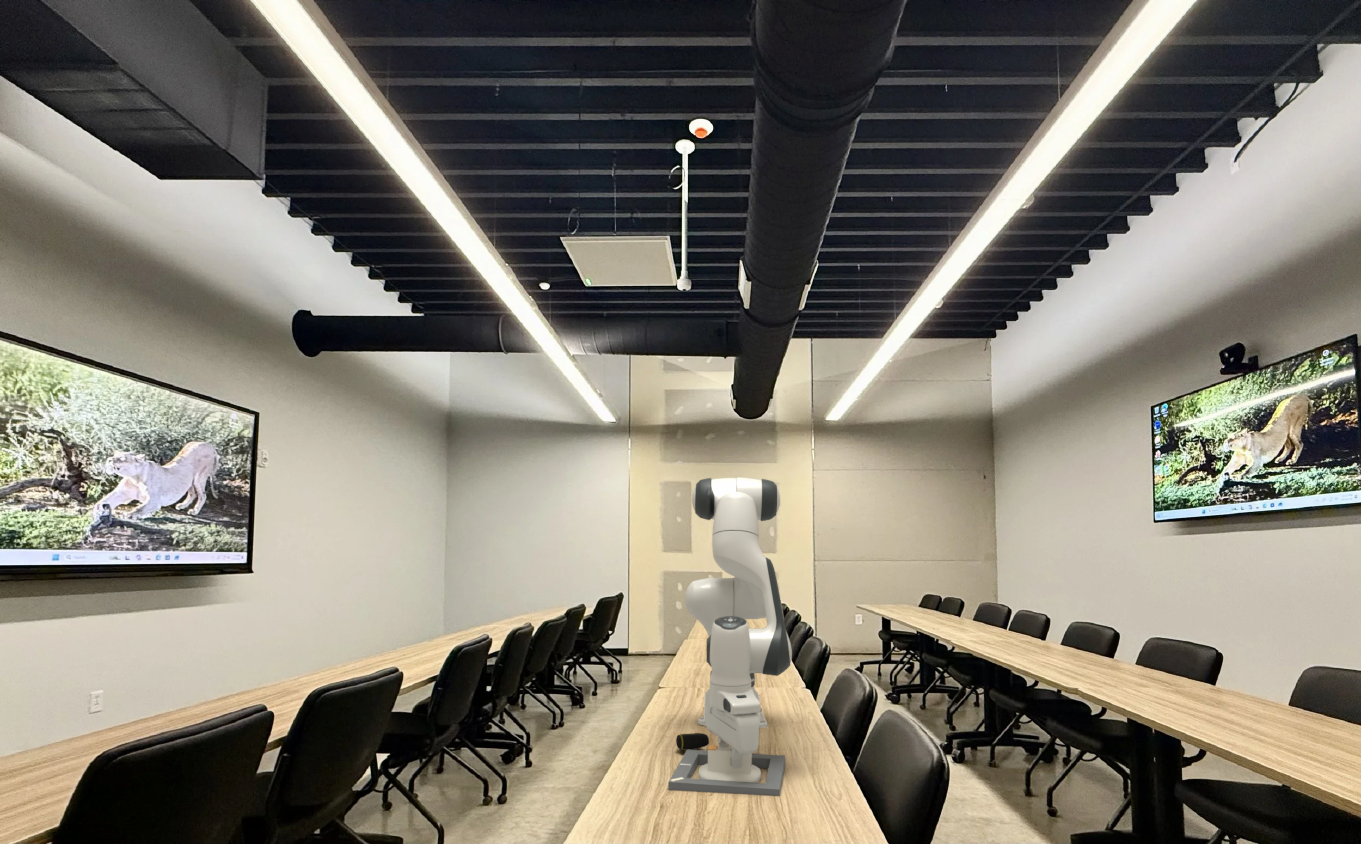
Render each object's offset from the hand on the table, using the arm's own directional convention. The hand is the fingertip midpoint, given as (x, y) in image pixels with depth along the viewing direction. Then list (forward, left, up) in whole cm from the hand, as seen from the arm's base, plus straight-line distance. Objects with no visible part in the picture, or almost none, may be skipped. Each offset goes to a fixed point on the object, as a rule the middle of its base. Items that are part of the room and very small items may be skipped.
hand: (730, 763), depth 173 cm
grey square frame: (0, 0, -3) cm, 3 cm away
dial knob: (0, 0, -3) cm, 3 cm away
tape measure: (-18, -8, -3) cm, 20 cm away
